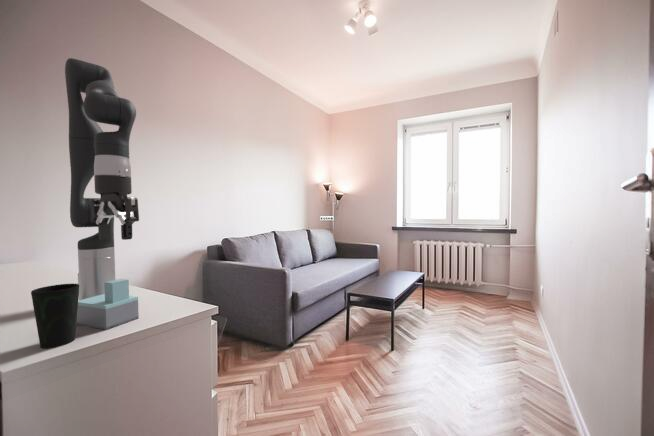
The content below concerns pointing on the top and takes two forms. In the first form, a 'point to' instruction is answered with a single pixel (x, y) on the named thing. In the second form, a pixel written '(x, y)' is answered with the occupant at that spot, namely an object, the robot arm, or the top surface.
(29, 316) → the top surface
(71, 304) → the cup
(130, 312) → the tub
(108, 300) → the lid
